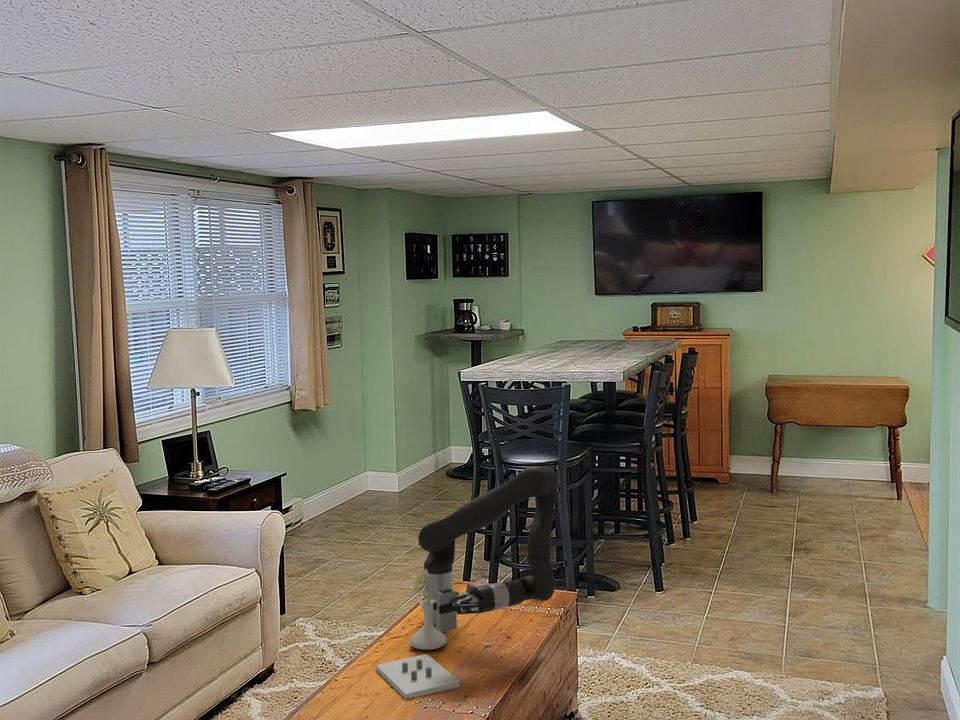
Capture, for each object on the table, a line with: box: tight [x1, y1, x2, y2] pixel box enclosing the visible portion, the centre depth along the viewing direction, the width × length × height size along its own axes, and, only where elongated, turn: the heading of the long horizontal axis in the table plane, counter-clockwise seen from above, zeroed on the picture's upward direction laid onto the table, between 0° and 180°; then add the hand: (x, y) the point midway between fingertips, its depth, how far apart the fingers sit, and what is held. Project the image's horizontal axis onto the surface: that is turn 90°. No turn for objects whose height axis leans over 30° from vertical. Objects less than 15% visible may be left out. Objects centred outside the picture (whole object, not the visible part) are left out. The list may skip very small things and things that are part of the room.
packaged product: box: [461, 580, 489, 595], centre depth 329 cm, size 18×5×10 cm
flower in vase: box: [409, 568, 448, 651], centre depth 286 cm, size 13×11×25 cm
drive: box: [435, 587, 458, 633], centre depth 267 cm, size 3×5×12 cm, turn 118°
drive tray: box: [375, 653, 461, 700], centre depth 264 cm, size 22×16×4 cm
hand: (436, 608), depth 266 cm, fingers closed on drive, 3 cm apart
